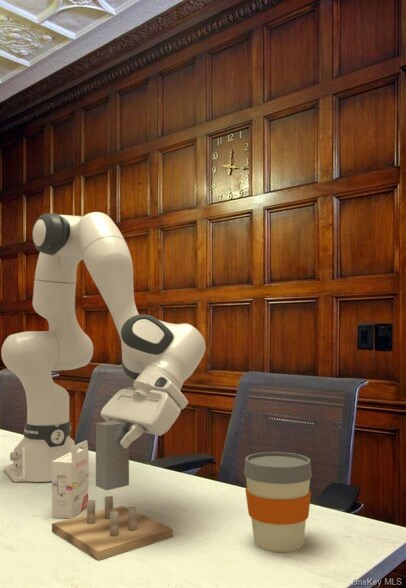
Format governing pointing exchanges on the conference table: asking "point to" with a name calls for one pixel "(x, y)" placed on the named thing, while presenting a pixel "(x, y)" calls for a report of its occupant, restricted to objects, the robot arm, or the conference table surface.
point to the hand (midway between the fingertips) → (114, 443)
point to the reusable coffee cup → (278, 499)
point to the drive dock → (102, 530)
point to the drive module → (111, 455)
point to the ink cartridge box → (70, 482)
